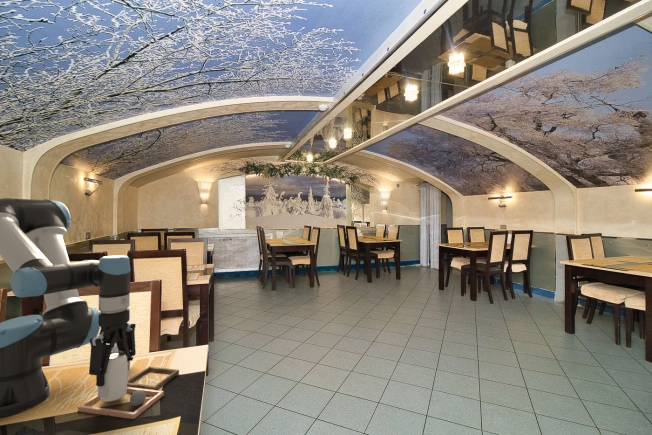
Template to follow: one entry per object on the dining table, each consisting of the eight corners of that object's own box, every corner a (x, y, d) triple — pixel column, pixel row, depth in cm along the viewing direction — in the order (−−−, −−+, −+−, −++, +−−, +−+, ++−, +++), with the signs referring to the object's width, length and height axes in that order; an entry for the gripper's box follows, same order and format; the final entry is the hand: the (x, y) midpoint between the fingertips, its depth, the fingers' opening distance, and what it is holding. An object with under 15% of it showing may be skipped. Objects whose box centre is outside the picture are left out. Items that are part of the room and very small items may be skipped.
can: (113, 404, 89) (114, 360, 89) (94, 401, 90) (94, 358, 90) (132, 391, 95) (132, 351, 95) (113, 389, 96) (114, 349, 96)
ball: (126, 408, 89) (126, 393, 89) (137, 400, 93) (137, 386, 93) (138, 409, 89) (138, 395, 89) (149, 401, 93) (149, 387, 93)
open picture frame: (77, 411, 88) (77, 406, 88) (113, 389, 99) (113, 385, 99) (133, 419, 85) (133, 414, 85) (163, 395, 96) (163, 391, 96)
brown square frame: (122, 387, 100) (122, 383, 100) (149, 370, 112) (149, 366, 112) (155, 391, 98) (155, 387, 98) (179, 373, 110) (179, 369, 110)
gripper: (95, 321, 82) (95, 410, 82) (150, 301, 101) (149, 374, 101) (71, 319, 84) (70, 407, 84) (129, 300, 103) (128, 372, 103)
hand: (113, 389), depth 92 cm, fingers closed on can, 6 cm apart
